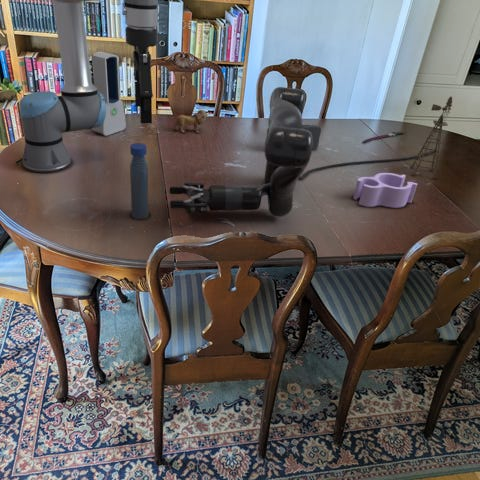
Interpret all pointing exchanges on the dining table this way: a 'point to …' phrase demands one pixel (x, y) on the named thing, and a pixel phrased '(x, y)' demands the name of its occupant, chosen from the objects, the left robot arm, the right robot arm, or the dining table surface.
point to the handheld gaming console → (312, 133)
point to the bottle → (139, 187)
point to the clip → (384, 190)
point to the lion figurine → (191, 120)
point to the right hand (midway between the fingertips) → (169, 197)
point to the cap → (138, 149)
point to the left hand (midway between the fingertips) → (143, 114)
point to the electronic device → (109, 92)
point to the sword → (382, 136)
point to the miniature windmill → (439, 123)
